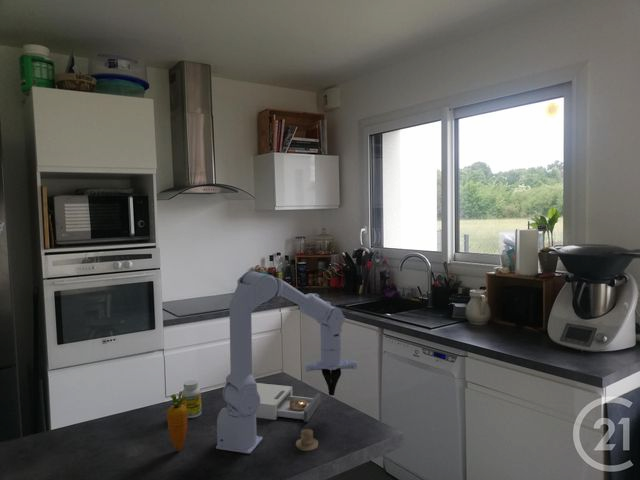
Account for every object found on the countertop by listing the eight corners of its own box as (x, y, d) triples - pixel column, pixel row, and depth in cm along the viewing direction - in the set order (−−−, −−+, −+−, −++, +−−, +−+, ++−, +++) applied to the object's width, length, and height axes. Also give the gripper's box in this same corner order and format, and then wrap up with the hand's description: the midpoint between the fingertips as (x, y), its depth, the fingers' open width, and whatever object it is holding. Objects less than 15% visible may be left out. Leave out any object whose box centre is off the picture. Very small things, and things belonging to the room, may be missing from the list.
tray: (263, 416, 135) (263, 406, 135) (280, 398, 148) (280, 389, 148) (307, 422, 131) (307, 411, 131) (320, 402, 144) (320, 393, 144)
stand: (292, 449, 118) (292, 435, 117) (300, 438, 123) (300, 425, 123) (314, 452, 116) (314, 438, 116) (320, 441, 121) (320, 428, 121)
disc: (287, 410, 137) (287, 404, 137) (292, 403, 142) (292, 397, 142) (303, 412, 136) (303, 406, 136) (308, 404, 141) (308, 399, 141)
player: (230, 414, 138) (230, 399, 137) (251, 395, 151) (251, 382, 151) (275, 419, 134) (275, 404, 133) (292, 400, 147) (292, 386, 147)
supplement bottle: (199, 408, 142) (198, 377, 141) (203, 415, 137) (202, 383, 136) (180, 412, 139) (179, 381, 138) (184, 420, 134) (183, 387, 134)
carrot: (181, 443, 121) (179, 386, 120) (193, 449, 118) (191, 391, 117) (164, 451, 117) (161, 393, 116) (175, 458, 114) (173, 398, 113)
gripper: (306, 353, 130) (307, 401, 131) (358, 351, 131) (358, 398, 132) (304, 345, 137) (305, 391, 138) (354, 343, 138) (354, 388, 139)
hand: (331, 394), depth 136 cm, fingers closed
